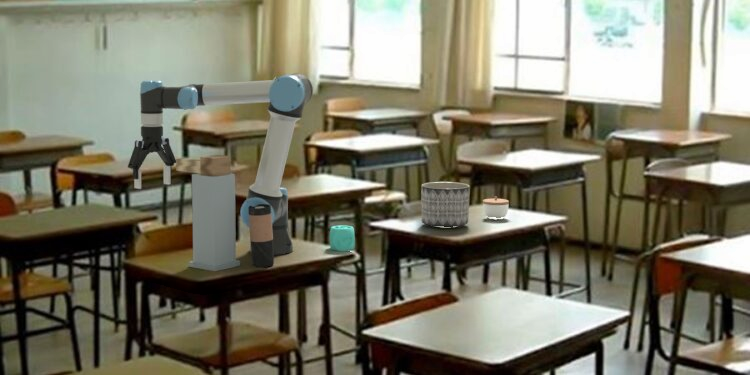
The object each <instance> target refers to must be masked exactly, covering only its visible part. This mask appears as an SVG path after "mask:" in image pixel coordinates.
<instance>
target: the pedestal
mask: <svg viewBox="0 0 750 375" xmlns="http://www.w3.org/2000/svg"><path fill="white" fill-rule="evenodd" d="M191 193H192V194H191V201H192V202H191V203H192V208H191V209H192V211H191V212H192V260H191V261H188V267H189V268H190V267H191V268H195V269H200V270H205V271H210V272H211V271H212V272H218V271H223V270H226V269H227V270H228V269H232V268H235V267H240V266H241V260H237V252H236V250H237V246H236V245H237V244H236V241H237V240H236V239H237V238H236V236H237V232H236V227H237V226H236V174H235V173H231V174H228V175H221V176H214V177H213V176H205V175H201V174H200V173H193V174H191Z"/></svg>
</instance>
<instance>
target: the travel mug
mask: <svg viewBox="0 0 750 375" xmlns="http://www.w3.org/2000/svg"><path fill="white" fill-rule="evenodd" d="M248 210H249V227H248V228H249V240H250V244H251V252H250V253H251V262H252V266H253V267H256V268H266V267H270V266H273V265H274V264H275V263H274V262H275V260H274V258H275V255H274V252H273V231H272V217H271V206H270V205H268V204H258V205H257V206H255V207H252V206H249V207H248Z"/></svg>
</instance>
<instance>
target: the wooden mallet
mask: <svg viewBox="0 0 750 375" xmlns="http://www.w3.org/2000/svg"><path fill="white" fill-rule="evenodd" d="M231 159H232V157H231V155H224V154H214V155H204V156H200V159H197V158H196V159H195V158H194V159H193V158H185V157H181V158H175V160H176V163H175V169H176V170H175V171H177V172H185V173H190V174H191V173H193V174H199V173H200V174H201V175H205V176H213V177H214V176H221V175H228V174H232V173H231V171H232V170H231V168H232V166H231Z"/></svg>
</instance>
